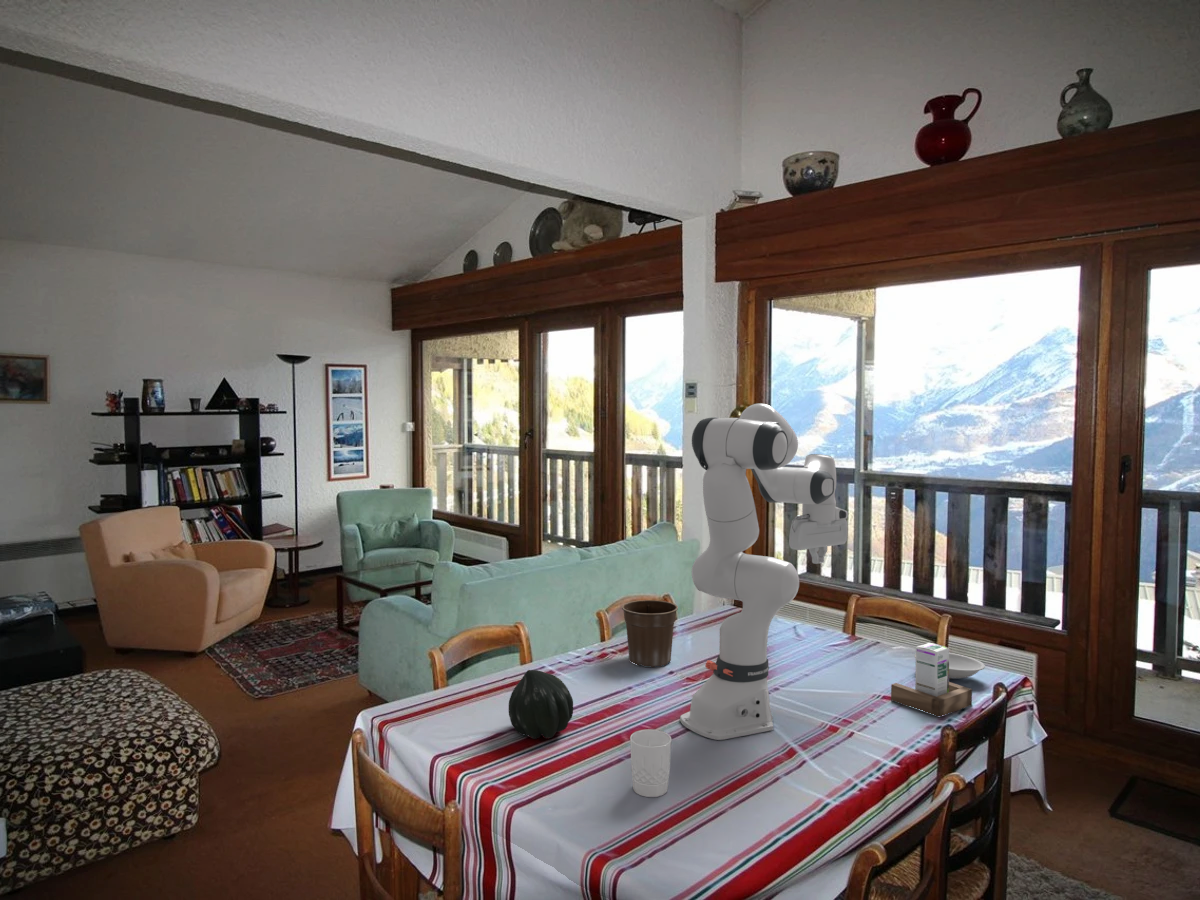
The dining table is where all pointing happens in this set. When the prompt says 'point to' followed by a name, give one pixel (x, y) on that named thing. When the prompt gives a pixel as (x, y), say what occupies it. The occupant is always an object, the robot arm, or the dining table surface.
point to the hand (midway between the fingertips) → (818, 563)
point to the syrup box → (932, 669)
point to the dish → (963, 666)
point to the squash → (540, 705)
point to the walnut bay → (933, 699)
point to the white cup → (650, 762)
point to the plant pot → (650, 631)
